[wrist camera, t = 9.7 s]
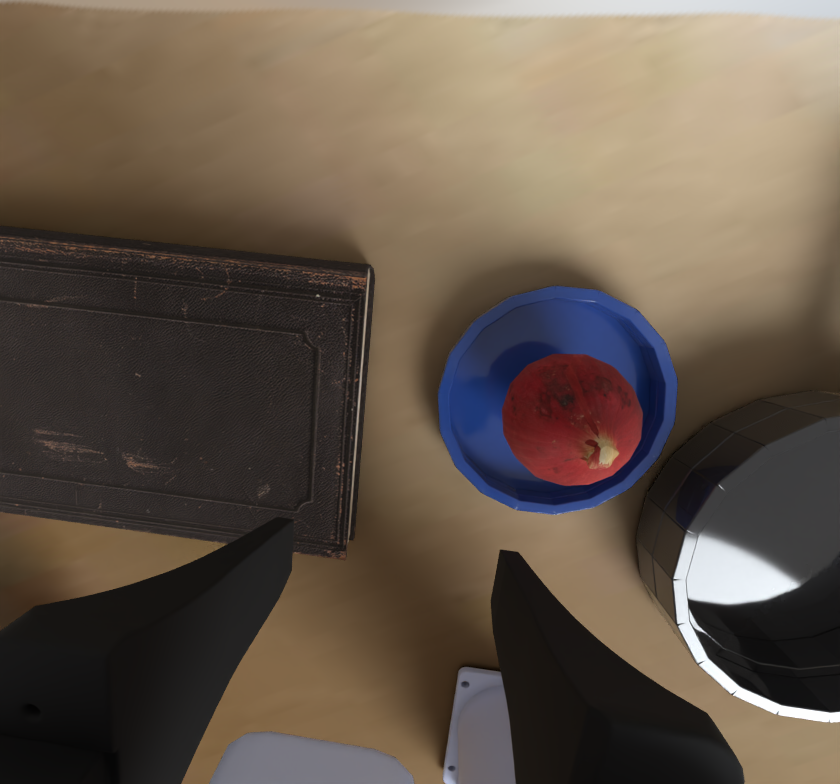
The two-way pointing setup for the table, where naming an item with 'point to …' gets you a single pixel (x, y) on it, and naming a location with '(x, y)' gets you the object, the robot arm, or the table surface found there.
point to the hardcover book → (182, 387)
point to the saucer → (533, 340)
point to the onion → (571, 419)
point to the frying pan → (754, 552)
